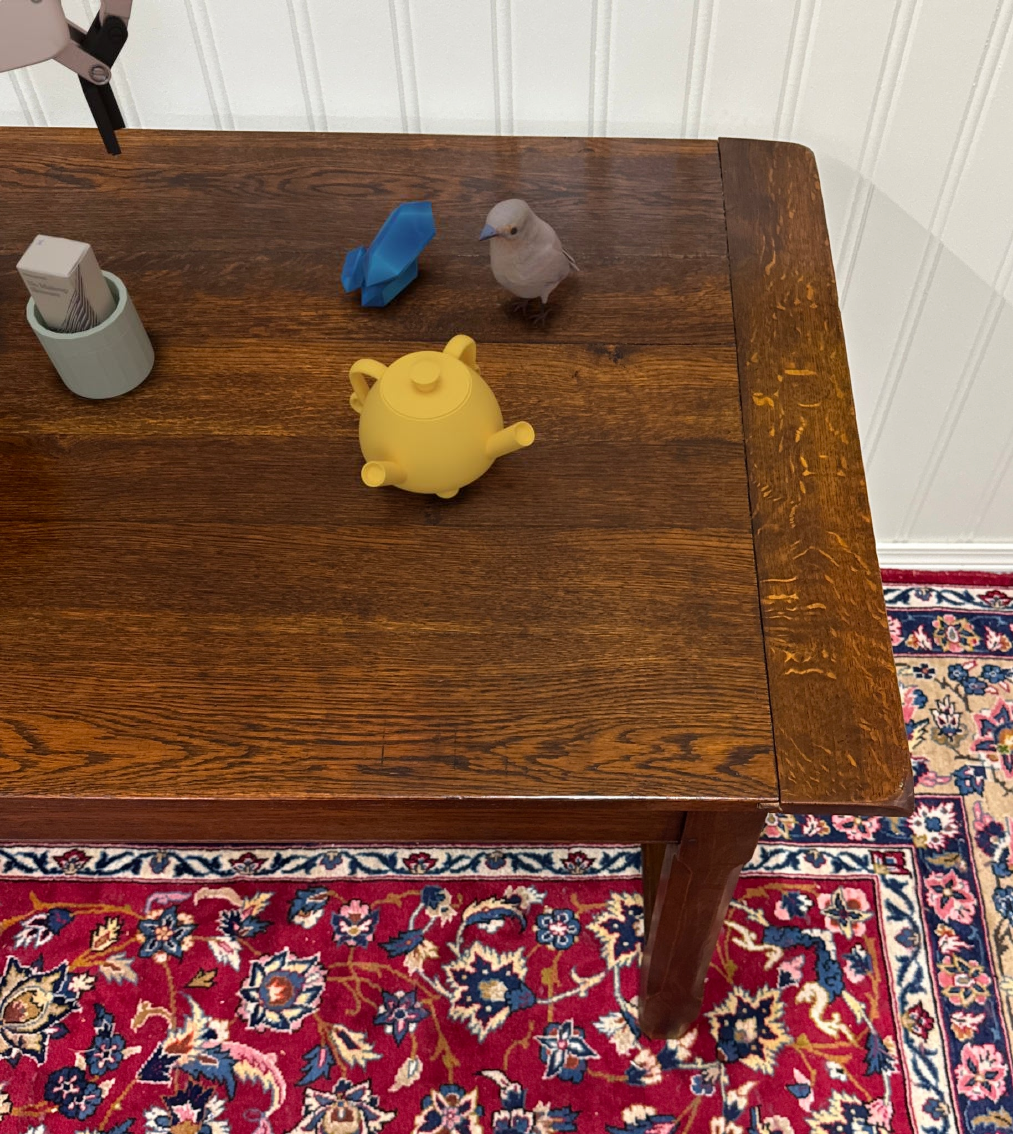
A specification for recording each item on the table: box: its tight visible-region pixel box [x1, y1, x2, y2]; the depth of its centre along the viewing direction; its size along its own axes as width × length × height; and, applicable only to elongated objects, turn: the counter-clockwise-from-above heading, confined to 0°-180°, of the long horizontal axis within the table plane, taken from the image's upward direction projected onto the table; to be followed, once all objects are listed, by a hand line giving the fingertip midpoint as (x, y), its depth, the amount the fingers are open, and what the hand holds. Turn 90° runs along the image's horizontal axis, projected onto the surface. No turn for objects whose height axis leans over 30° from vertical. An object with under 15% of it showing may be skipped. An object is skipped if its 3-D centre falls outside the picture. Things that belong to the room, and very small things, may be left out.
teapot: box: [348, 334, 535, 499], centre depth 84 cm, size 14×14×11 cm
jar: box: [26, 269, 155, 400], centre depth 92 cm, size 9×9×8 cm
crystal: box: [340, 200, 437, 307], centre depth 97 cm, size 7×9×12 cm
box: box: [15, 234, 117, 334], centre depth 89 cm, size 5×4×13 cm
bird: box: [477, 198, 581, 329], centre depth 92 cm, size 5×14×15 cm, turn 137°
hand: (24, 163), depth 54 cm, fingers open, 9 cm apart
